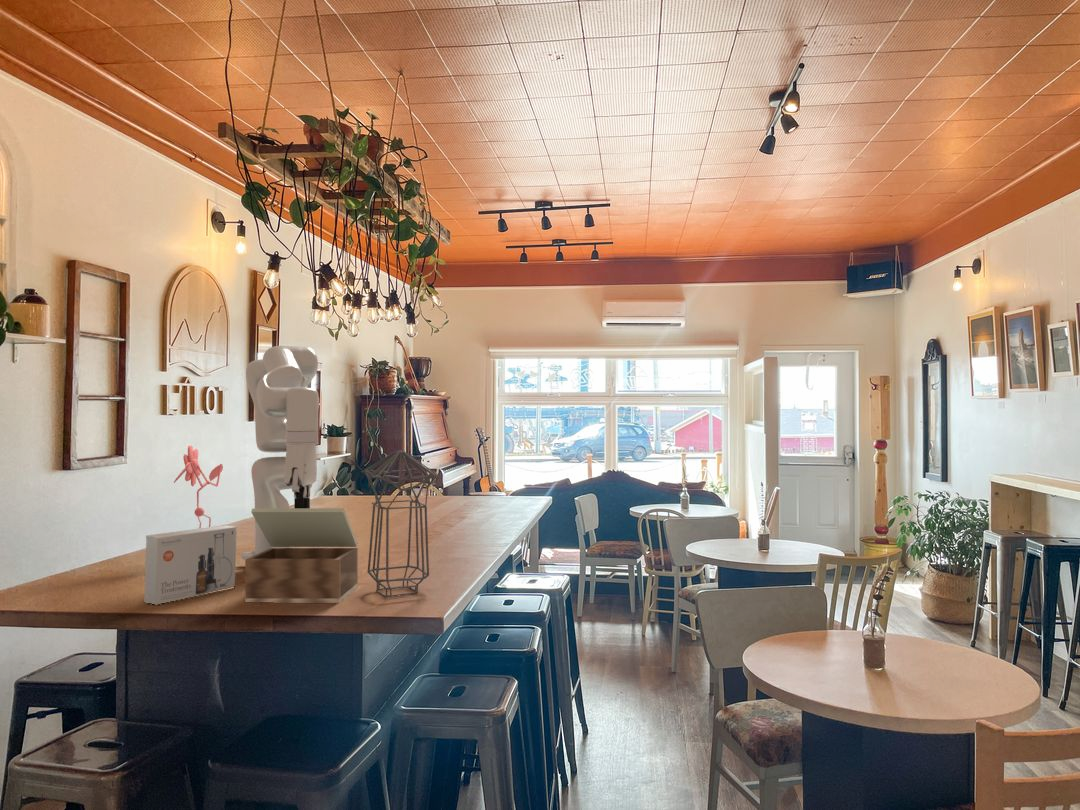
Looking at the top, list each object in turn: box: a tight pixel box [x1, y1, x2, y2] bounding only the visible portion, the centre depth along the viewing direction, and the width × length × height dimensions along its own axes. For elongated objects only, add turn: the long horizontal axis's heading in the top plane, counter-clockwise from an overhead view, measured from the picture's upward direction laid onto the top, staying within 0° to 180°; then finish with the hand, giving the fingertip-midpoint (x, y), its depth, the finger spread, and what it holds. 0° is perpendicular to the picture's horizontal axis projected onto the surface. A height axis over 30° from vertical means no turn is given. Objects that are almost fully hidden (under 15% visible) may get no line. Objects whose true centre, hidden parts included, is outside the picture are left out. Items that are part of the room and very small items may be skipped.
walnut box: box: [244, 547, 359, 604], centre depth 181 cm, size 22×16×10 cm
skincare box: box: [143, 524, 238, 605], centre depth 180 cm, size 21×5×16 cm, turn 148°
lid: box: [251, 507, 358, 548], centre depth 182 cm, size 22×16×1 cm
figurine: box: [173, 444, 224, 529], centre depth 224 cm, size 15×26×35 cm, turn 5°
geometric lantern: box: [360, 450, 439, 598], centre depth 182 cm, size 16×16×35 cm
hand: (302, 514), depth 179 cm, fingers closed
